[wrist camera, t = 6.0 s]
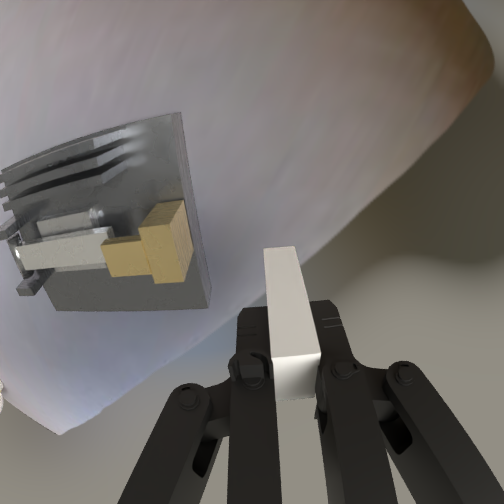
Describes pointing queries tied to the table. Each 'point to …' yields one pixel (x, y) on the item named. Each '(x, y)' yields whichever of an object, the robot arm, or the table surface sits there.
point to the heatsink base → (106, 212)
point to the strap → (59, 250)
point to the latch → (154, 246)
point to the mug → (0, 397)
